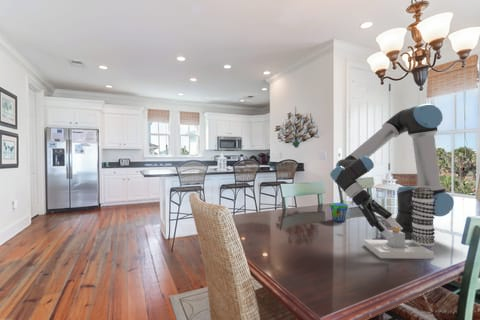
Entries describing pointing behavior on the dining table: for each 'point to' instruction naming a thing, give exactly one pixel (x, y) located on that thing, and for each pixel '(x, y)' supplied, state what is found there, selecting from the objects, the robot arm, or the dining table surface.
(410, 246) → the socket plate
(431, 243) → the decorative candle
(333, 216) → the snack cup
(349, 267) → the dining table surface
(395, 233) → the egg topped pedestal
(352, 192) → the robot arm
